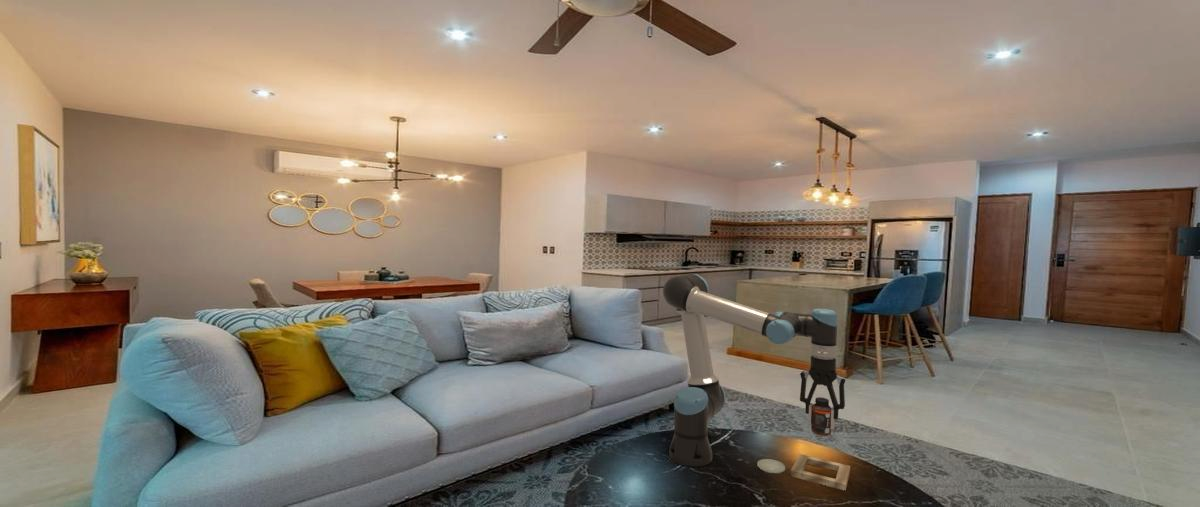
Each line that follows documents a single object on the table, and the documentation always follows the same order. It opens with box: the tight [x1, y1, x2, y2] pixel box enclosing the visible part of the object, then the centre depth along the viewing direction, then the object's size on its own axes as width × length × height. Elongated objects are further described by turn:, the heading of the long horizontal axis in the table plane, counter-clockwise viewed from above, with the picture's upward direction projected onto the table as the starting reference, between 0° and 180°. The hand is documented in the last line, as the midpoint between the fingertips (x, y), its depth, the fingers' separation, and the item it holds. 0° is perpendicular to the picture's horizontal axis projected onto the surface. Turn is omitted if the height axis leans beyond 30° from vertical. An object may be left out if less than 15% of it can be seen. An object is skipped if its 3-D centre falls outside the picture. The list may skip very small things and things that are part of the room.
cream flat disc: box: [757, 458, 786, 475], centre depth 163 cm, size 9×9×1 cm
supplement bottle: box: [810, 397, 832, 437], centre depth 157 cm, size 6×6×11 cm
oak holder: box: [790, 453, 851, 491], centre depth 158 cm, size 16×14×2 cm
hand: (821, 425), depth 157 cm, fingers closed on supplement bottle, 6 cm apart
